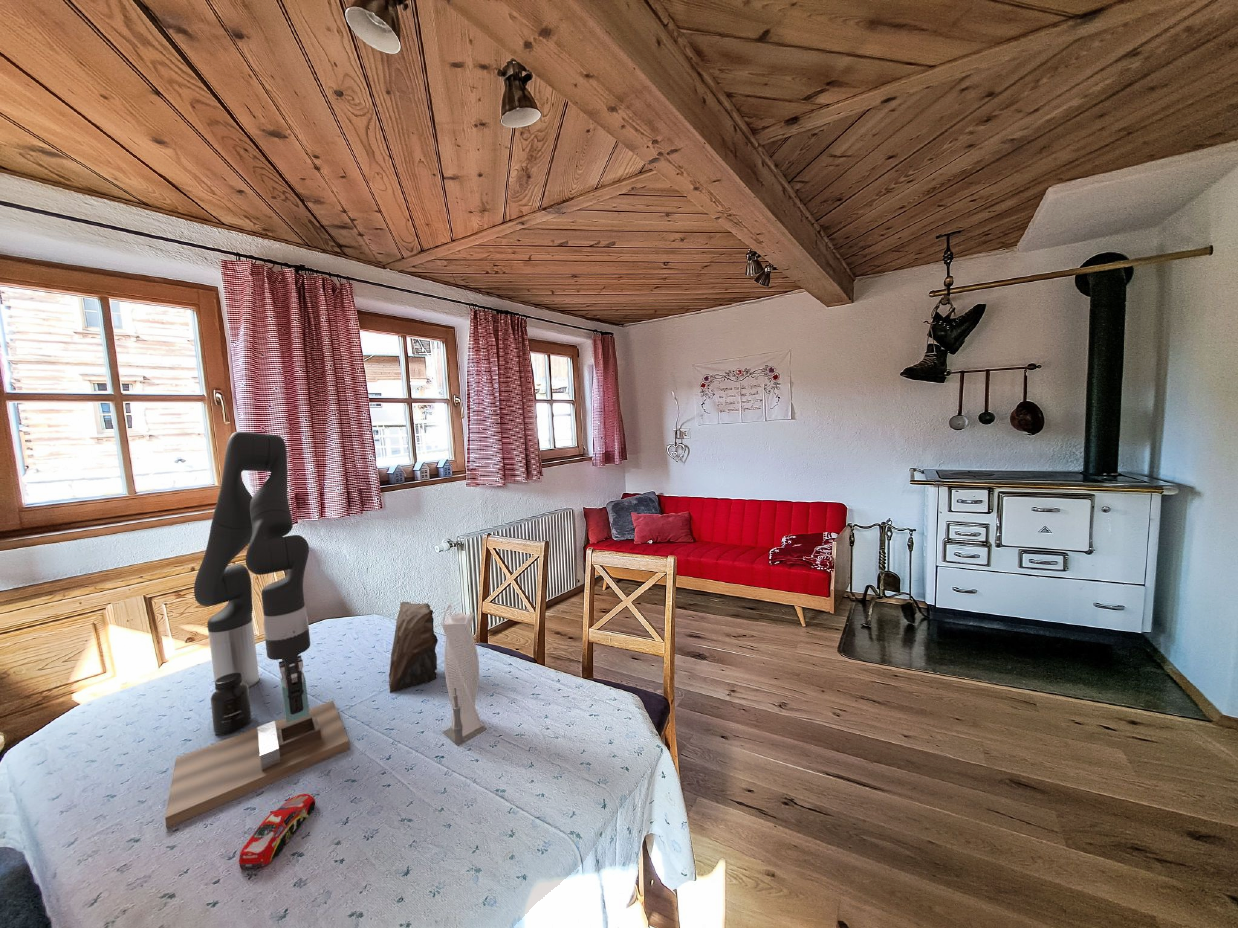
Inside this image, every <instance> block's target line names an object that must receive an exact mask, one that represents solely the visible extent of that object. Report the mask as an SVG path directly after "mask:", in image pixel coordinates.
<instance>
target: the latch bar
mask: <svg viewBox="0 0 1238 928" xmlns="http://www.w3.org/2000/svg"><path fill="white" fill-rule="evenodd" d="M275 721H276V720H273V721H269V722H268V723H265V724H261V725H258V726H257V727H256V728H258V739H259V750H260V760H261V768H262V770H263V769H266V768H268V767H271V766H273V765H276V764H278V763H280V762H281V761H280V753H279V745H278V738H277V732H276V725H275Z"/></svg>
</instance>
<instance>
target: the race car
mask: <svg viewBox="0 0 1238 928" xmlns="http://www.w3.org/2000/svg"><path fill="white" fill-rule="evenodd" d="M315 807H316V800H315V798H314V796H312V795H311V794H310V793H302V794H298V795H295V796H292V797H290V798H288V799H287V800H285V801H284V802H283V804H281V805H280V806H279V807H278V808H277V809H275V810H271V811H270V812H269V814H268V815H267V817H266V818H265V819H264V820H263V821H262V822H261V824H259V826H258V827H257V829H256V830H254V832H253V834H252V835H251V837H250V838H249V839H248V840H247V842H246V843H245V845H243V847H242V848H241V850H240V852H239V857H238V864H239V865H238V866H239V868H240V869H241V870H243V869H259V868H261V867H265V866H266V865H268V864H269V863H271V862H272V861H273V860H275V858H276V857H279V855H280V853H281V852H283V850H284V846H286V845H287V844H288V843H289V842H290V840H291V839H292V838H293V836H294V835H295V834H296V833H297V831H298V830H299V829H300V827H301V826H302V825H303V823H304V822H305V821H306V820H307V818H308V817H309V816H311V815H312V812H314V810H315Z"/></svg>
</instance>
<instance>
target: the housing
mask: <svg viewBox="0 0 1238 928" xmlns="http://www.w3.org/2000/svg"><path fill="white" fill-rule="evenodd" d="M274 721H275V725H276V732H277V738H278V745H279V753H280V761H281V762H280V763H278V764H276V765H273V766H271V767H268V768H266V769H263V770H262V768H261V760H260V750H259V739H258V728H257V727H256V728H253V729H251V730H248V731H246V732H242V733H239V734H238V735H234V736H232V737H228V738H226V739H223V740H221V741H218V742H215V743H212V744H210V745H208V746H207V745H206V746H204V747H202V748H201V747H200V748H199V749H196V750H193V751H190V752H187V753H186V754H185V753H184V754H182V755H179V756H177V757H175V762H174V766H173V773H172V776H171V777H172V778H171V784H170V790H169V794H168V799H167V806H166V811H165V816H164V820H165V826H166V827H165V828H166V829H168V828H171V827H173V826H176V825H179V824H180V823H182V822H184V821H185V822H186V821H187V820H190V819H192V818H194V817H197V816H199V815H201V814H203V813H205V812H208V811H210V810H212V809H215V808H217V807H219V806H222V805H224V804H226V803H229V802H231V801H233V800H236V799H239V798H240V797H241V798H242V797H243V796H244V795H247V794H250V793H252V792H254V791H257V790H259V789H261V788H263V787H266V786H268V785H270V784H273V783H275V782H277V781H280V780H282V779H284V778H286V777H289V776H291V775H293V774H295V773H298V772H300V771H302V770H305V769H308V768H310V767H312V766H314V765H317V764H319V763H322V762H323V761H326V760H328V759H330V758H333V757H335V756H338V755H340V754H342V753H345V752H346V751H349V750H350V740H349V737H348V735H347V732H346V729H345V728H344V725H343V722H342V719H341V717H340V715H339V712H338V709H337V707H336V705H335V702H334V700H330V701H328V702H324V703H322V704H320V705H317V706H314V707H311V708H309V715H308V716H305V717H302V718H300V719H297V720H294V721H292V722H289V723H286V719H285V717H284V718H281V719H279V720H274Z"/></svg>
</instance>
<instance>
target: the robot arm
mask: <svg viewBox="0 0 1238 928" xmlns="http://www.w3.org/2000/svg"><path fill="white" fill-rule="evenodd" d="M287 452H288V451H287V445H286V442H285V440H284V438H283V437H282V436H280V435H275V434H271V433H270V434H269V433H259V432H252V431H251V432H249V431H235V432H233V433H232V434H231V435H230V437H228V441H227V444H226V449H225V455H224V461H223V463H224V464H223V469H222V477H221V483H220V490H219V494H218V496H217V502H216V504H215V508H214V512H213V514H212V515H213V516H212V520H211V524H210V525H211V526H210V530H209V536H208V540H207V544H206V549H205V553H204V555H203V558H202V561H201V564H200V565H199V567H198V571H197V574H196V576H195V580H194V583H193V595H194V598H195V601H196V602H197V604H199V605H200V606H202V607H212V606H217V605H220V604H223V603H227V604H226V605H225V606H224V607H223V608H222V609H221V610H220V611H218V612H217V613H215V614H214V615H211V616H210V618H209V619H208V620H207V623H206V624H207V631H208V641H209V648H210V654H211V664H212V671H213V679H214V682H215V681H216V680H217V679H218V678H220V677H222V676H224V675H227V674H231V673H241V674H242V679H243V682H242V683H245V684H246V685H247V686H248V688H250V687H252V686H254V685H256V683H258V682H259V680H260V674H259V665H258V664H259V663H258V657H257V655H258V654H257V648H256V647H257V646H256V639H255V632H254V630H255V629H254V624H253V621H254V620H253V611H254V610H253V609H254V608H253V593H252V592H253V589H252V587H253V586H252V579H251V575H250V572H251V573H252V574H254V575H256V576H257V575H258V576H261V575H268V574H272V573H279V572H284V571H288V570H289V572H288V574H287V575H285V576H284V577H283V578H281V579H278V580H276V581H274V582H271V583H269V584H267V585H265V586H264V587H263V588H262V589H261V603H262V610H263V611H262V612H263V632H264V641H265V648H266V657H267V658H268V659H270V660H273V661H275V660H276V661H278V660H279V661H278V669H279V672H280V675H281V679H283V685H284V687H285V688H287V693H288V695H287V697H288V699H289V705H290V713H291V714H292V715H293V714H296V713H299V712H301V711H303V701H302V695H303V693H304V691H303V687H302V682H303V681H304V678H303V673H304V671H303V668H304V662H303V661H304V660H303V659H302V655H301V654H302V653H305V652H306V651H307V650H308V649H309V648H310V647H311V636H310V626H309V618H308V612H307V609H306V603H305V596H304V594H305V593H304V577H305V573H306V572H305V571H306V566H307V563H308V558H309V554H310V545H309V543H308V541H307V540H306V538H305V537H303V536H302V535H300V534H292V535H288V534H290V533H291V531H292V530H293V527H294V526H293V525H294V523H293V522H294V521H293V517H292V513H291V509H290V504H289V498H288V497H289V496H288V453H287ZM244 471H247V472H249V471H251V472H270V474H269V476H268V478H267V479H266V481H265V482H264V483H263V484H262V485H261V487H259V488H258V490H256V491H255V493H254V494H253V496H252V494H251V493H250V491H249V490H248V489H247V487H246V485H245V483H244V481H243V479H242V472H244ZM246 547H247V549H246V552H245V564H246V565H243V564H240V563H235V564H231V565H229V564H230V563H231V562H233V560H234V559H235V558H236V557H237V556H238V555H239V554H240V553H241V552H242V551H243V550H245V548H246ZM286 680H287V682H286ZM296 688H299V689H297V690H294V691H291V690H293V689H296Z"/></svg>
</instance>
